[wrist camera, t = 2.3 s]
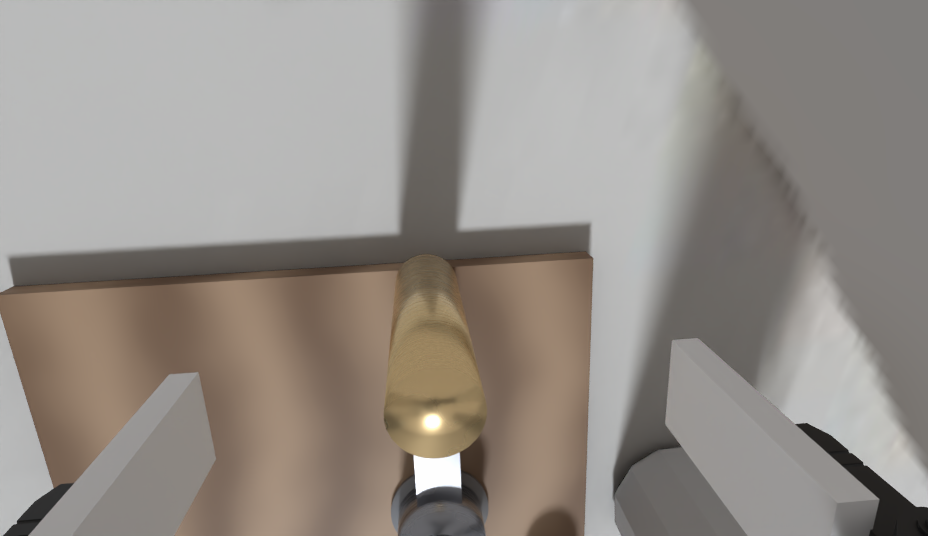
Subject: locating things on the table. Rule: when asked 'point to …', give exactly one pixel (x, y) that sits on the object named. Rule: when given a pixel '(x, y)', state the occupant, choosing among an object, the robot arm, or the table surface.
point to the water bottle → (670, 500)
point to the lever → (433, 398)
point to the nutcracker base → (317, 388)
